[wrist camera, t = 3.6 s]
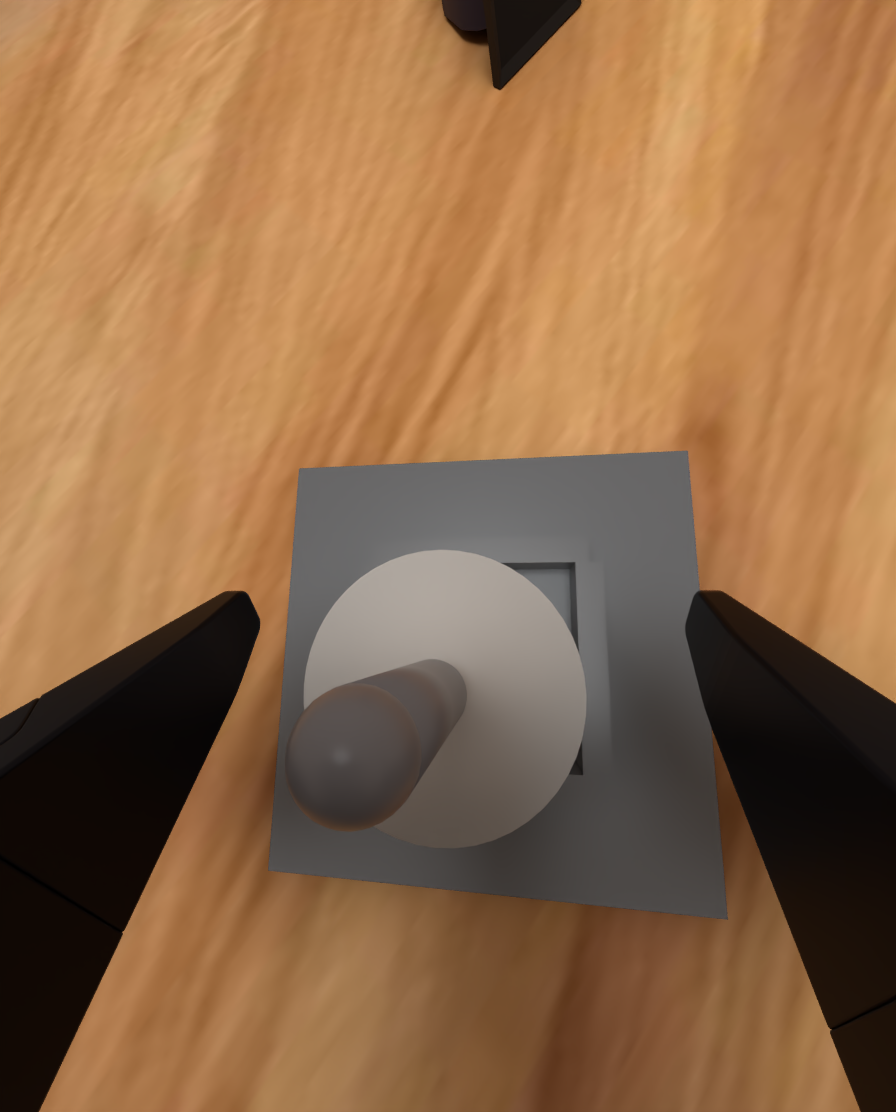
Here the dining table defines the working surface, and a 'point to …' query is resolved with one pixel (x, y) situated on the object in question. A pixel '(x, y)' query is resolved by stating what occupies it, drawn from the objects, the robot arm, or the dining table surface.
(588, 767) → the dock
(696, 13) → the dining table surface
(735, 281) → the dining table surface
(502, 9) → the speaker
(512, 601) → the plug
